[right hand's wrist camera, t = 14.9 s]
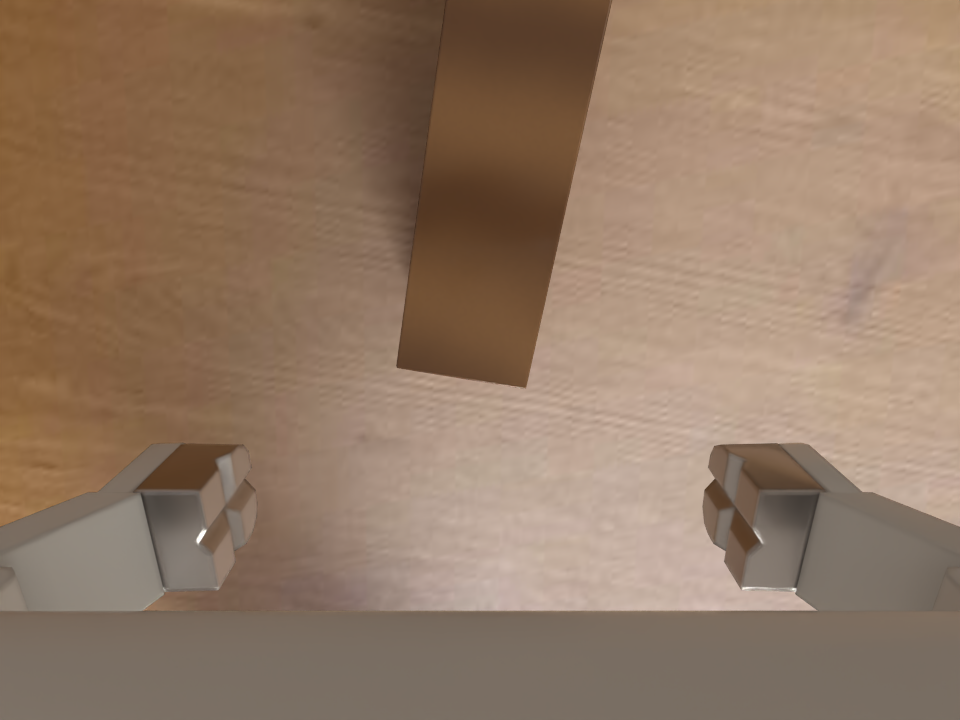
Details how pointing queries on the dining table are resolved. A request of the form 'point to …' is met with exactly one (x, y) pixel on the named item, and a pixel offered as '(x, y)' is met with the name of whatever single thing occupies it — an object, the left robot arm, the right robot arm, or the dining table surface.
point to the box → (497, 182)
